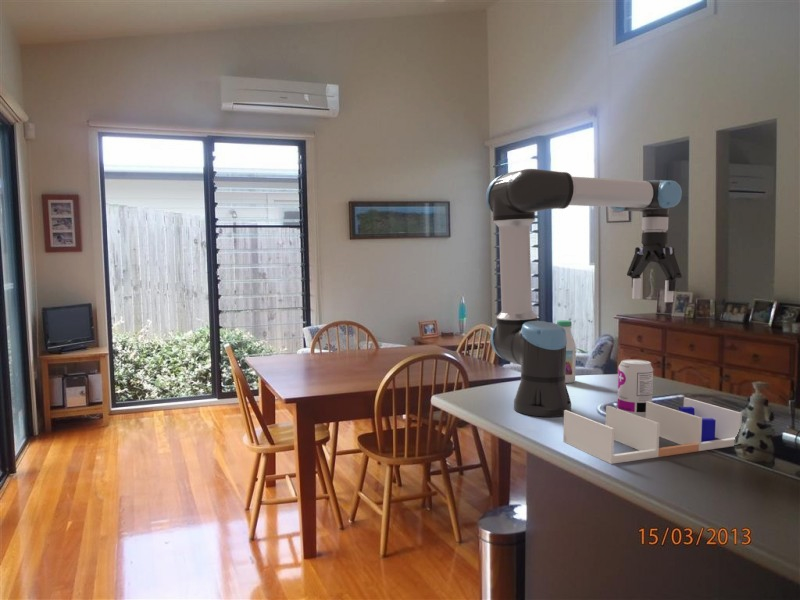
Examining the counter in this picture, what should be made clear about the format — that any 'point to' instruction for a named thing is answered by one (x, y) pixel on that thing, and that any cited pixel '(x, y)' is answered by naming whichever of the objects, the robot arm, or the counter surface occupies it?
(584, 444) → the can rack
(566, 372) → the milk bottle
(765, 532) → the counter surface
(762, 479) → the counter surface
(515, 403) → the robot arm
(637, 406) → the supplement can
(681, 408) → the blue notched cradle block
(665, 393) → the counter surface
